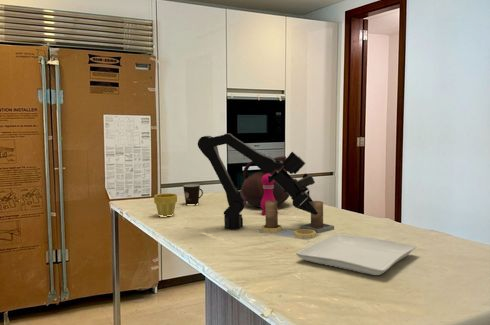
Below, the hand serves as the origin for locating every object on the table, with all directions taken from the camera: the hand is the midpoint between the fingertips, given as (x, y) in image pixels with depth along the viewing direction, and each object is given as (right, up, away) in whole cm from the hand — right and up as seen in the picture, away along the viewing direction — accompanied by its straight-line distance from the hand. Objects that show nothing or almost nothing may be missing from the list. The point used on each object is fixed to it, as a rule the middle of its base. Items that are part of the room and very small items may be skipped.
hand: (316, 211), depth 163 cm
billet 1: (-17, -7, 0) cm, 18 cm away
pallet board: (-11, -9, -4) cm, 15 cm away
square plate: (+7, -11, -32) cm, 34 cm away
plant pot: (-63, -6, +35) cm, 73 cm away
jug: (-16, -4, +54) cm, 57 cm away
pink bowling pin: (-16, -5, +35) cm, 39 cm away
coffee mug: (-54, -4, +61) cm, 82 cm away
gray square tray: (0, -8, +1) cm, 8 cm away
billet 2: (0, -7, +1) cm, 7 cm away
